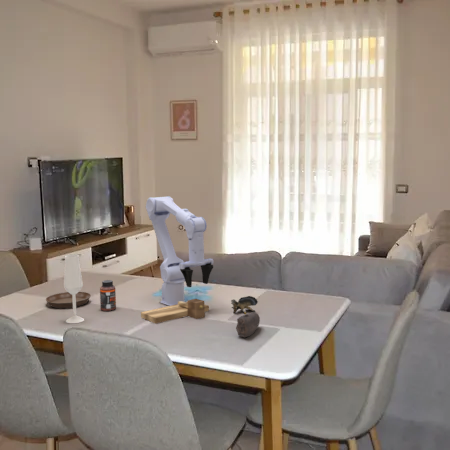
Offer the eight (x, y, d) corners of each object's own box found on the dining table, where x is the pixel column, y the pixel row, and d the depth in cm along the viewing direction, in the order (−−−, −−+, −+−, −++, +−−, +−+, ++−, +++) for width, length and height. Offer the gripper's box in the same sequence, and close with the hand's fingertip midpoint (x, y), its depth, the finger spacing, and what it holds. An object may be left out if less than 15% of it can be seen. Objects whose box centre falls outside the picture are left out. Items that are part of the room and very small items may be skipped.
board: (141, 317, 207) (140, 312, 207) (193, 305, 222) (193, 300, 222) (155, 323, 200) (155, 318, 199) (209, 310, 215) (209, 305, 214)
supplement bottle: (112, 311, 215) (111, 283, 214) (98, 311, 216) (96, 282, 215) (118, 307, 221) (117, 279, 220) (104, 307, 222) (103, 279, 221)
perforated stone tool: (251, 326, 195) (251, 306, 195) (265, 328, 193) (265, 308, 192) (232, 339, 182) (232, 318, 181) (246, 341, 180) (246, 320, 179)
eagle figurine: (239, 314, 205) (260, 307, 209) (232, 296, 208) (253, 289, 211) (234, 320, 212) (254, 313, 215) (227, 303, 214) (247, 296, 218)
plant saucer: (36, 308, 223) (36, 300, 222) (62, 297, 239) (62, 290, 239) (75, 311, 217) (75, 304, 217) (99, 299, 234) (98, 292, 234)
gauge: (175, 312, 214) (174, 296, 213) (183, 310, 216) (183, 294, 216) (198, 319, 204) (197, 303, 203) (206, 317, 206) (206, 301, 205)
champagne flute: (65, 324, 201) (62, 258, 198) (65, 318, 207) (62, 254, 204) (85, 322, 203) (81, 256, 199) (84, 317, 209) (81, 253, 206)
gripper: (186, 253, 203) (187, 290, 204) (218, 248, 212) (218, 283, 213) (175, 251, 208) (176, 286, 210) (206, 246, 217) (207, 280, 219)
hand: (197, 285), depth 212 cm, fingers open, 7 cm apart
